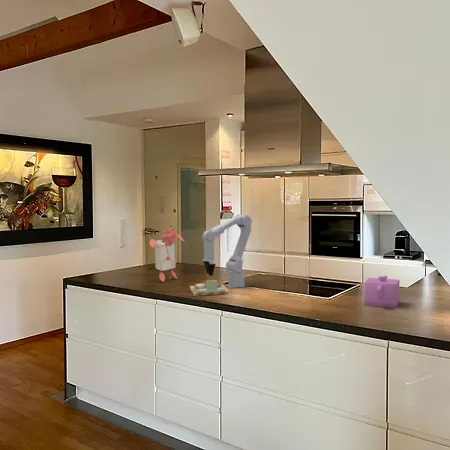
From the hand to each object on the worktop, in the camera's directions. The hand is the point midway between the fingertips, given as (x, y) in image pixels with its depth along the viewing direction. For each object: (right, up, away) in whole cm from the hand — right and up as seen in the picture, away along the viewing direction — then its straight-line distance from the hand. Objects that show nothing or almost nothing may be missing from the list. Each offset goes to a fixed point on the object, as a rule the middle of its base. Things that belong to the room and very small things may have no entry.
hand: (209, 274), depth 275 cm
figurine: (-26, -8, +29) cm, 40 cm away
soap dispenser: (-38, -4, +77) cm, 86 cm away
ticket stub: (+1, -8, -10) cm, 13 cm away
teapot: (+89, -11, -37) cm, 97 cm away
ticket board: (0, -10, -2) cm, 10 cm away
